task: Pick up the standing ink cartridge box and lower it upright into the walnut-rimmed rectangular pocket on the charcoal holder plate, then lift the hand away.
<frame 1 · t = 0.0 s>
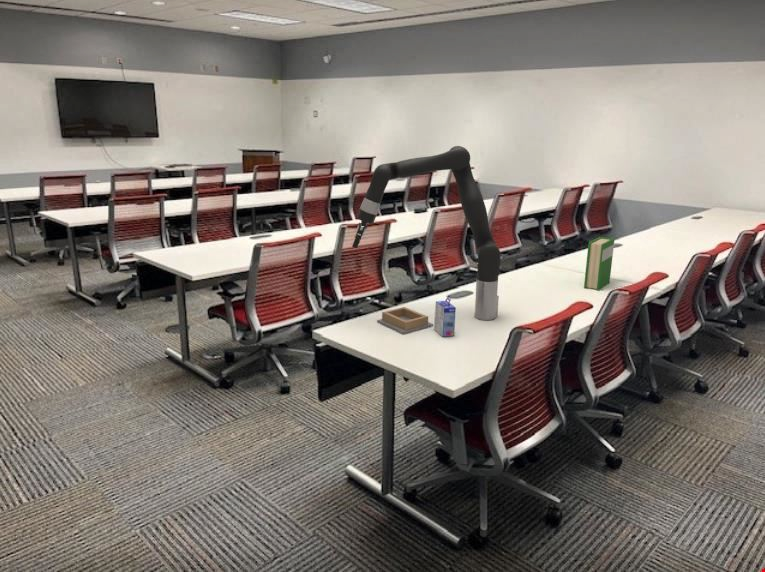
hand: (355, 245, 245), 31 cm above the table, tool tilted 20°, fingers open, 8 cm apart
ink cartridge box: (444, 332, 233), on the table
hardback book: (596, 286, 297), on the table
pocket holder: (404, 324, 242), on the table
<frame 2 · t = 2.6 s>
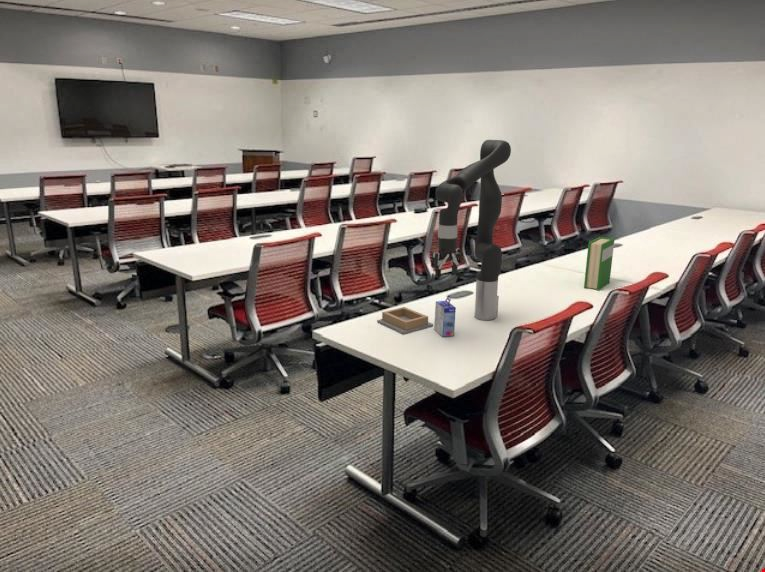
hand: (446, 276, 226), 24 cm above the table, tool pointing down, fingers open, 8 cm apart
nothing on the table moved.
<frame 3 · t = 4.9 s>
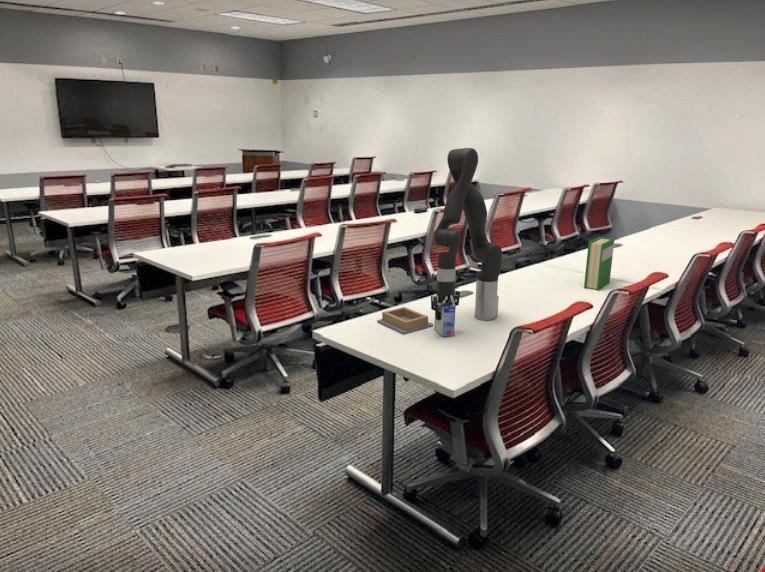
hand: (444, 317, 231), 6 cm above the table, tool pointing down, fingers closed on ink cartridge box, 6 cm apart
ink cartridge box: (444, 332, 233), on the table, touching gripper
everything else where it was.
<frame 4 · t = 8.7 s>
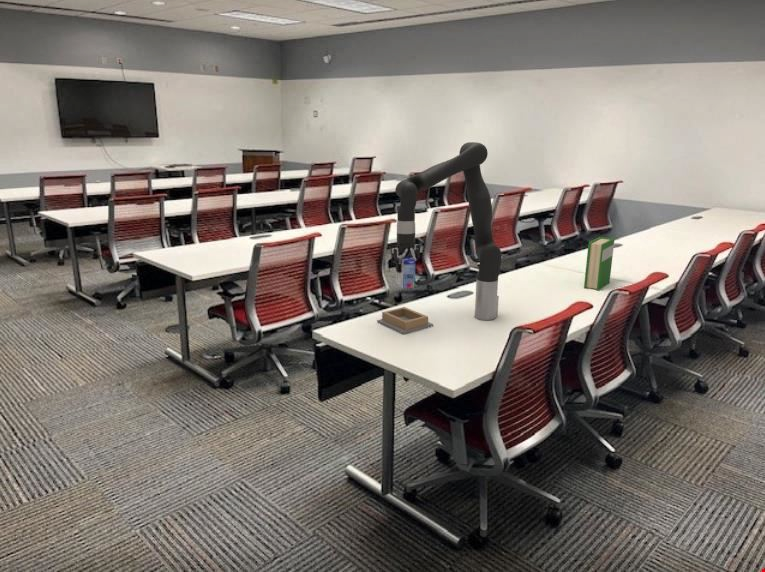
hand: (405, 270, 236), 23 cm above the table, tool pointing down, fingers closed on ink cartridge box, 6 cm apart
ink cartridge box: (405, 286, 237), point 17 cm above the table, touching gripper
everything else where it was.
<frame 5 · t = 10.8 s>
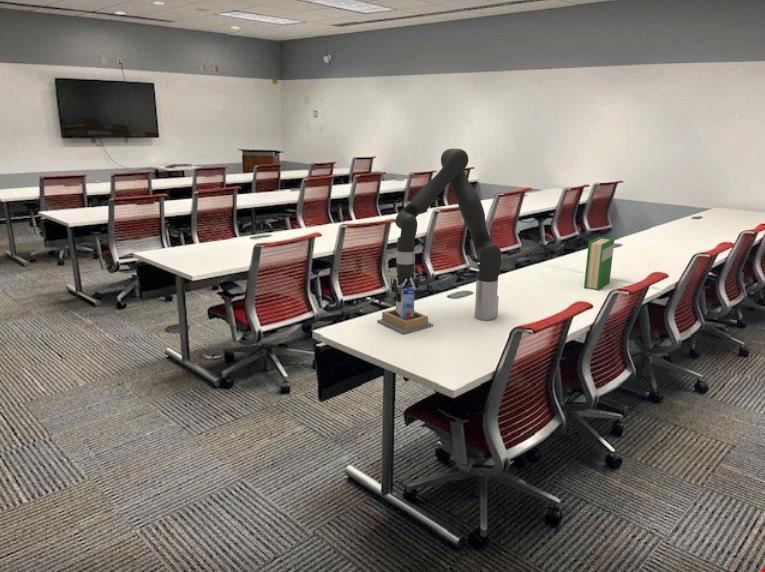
hand: (405, 299, 239), 11 cm above the table, tool pointing down, fingers closed on ink cartridge box, 6 cm apart
ink cartridge box: (405, 314, 241), point 4 cm above the table, touching gripper
everything else where it was.
when the fingers open (9 cm above the table, at t = 12.4 s): ink cartridge box drops 1 cm, resting on pocket holder.
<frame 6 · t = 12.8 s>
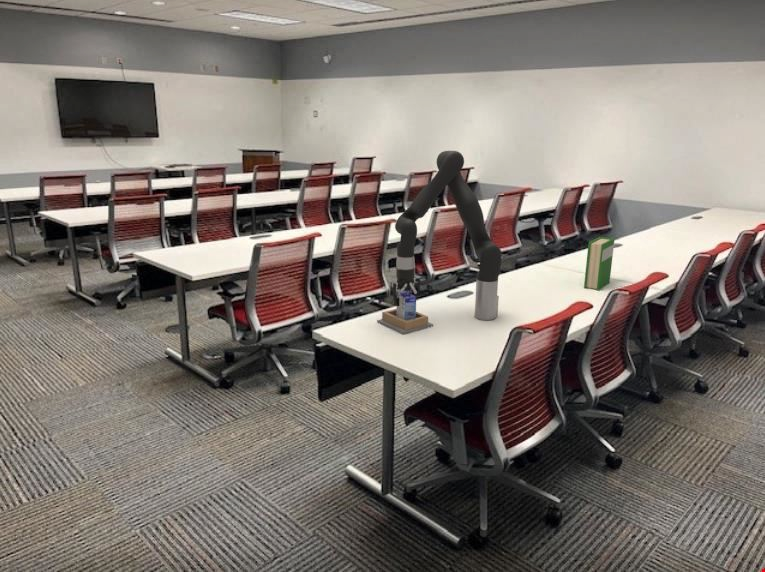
hand: (405, 303, 240), 9 cm above the table, tool pointing down, fingers open, 8 cm apart
ink cartridge box: (406, 322, 242), point 1 cm above the table, touching pocket holder
everything else where it was.
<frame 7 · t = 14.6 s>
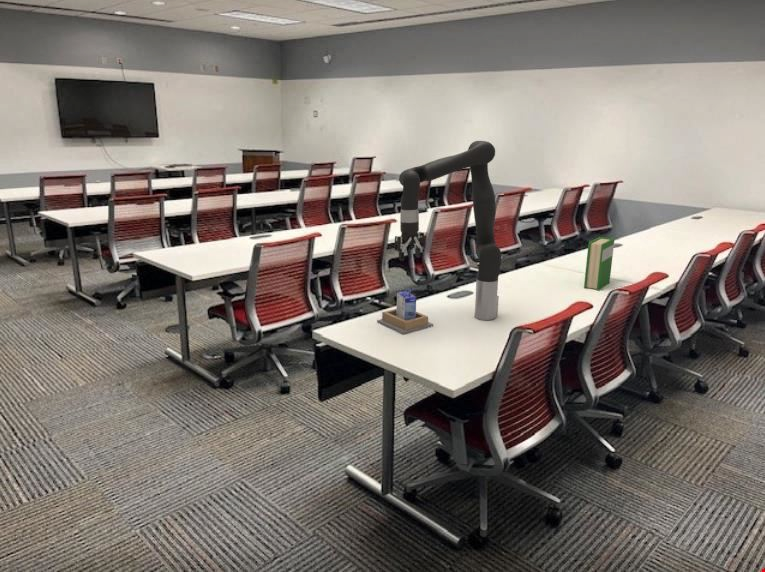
hand: (409, 258, 237), 28 cm above the table, tool pointing down, fingers open, 8 cm apart
nothing on the table moved.
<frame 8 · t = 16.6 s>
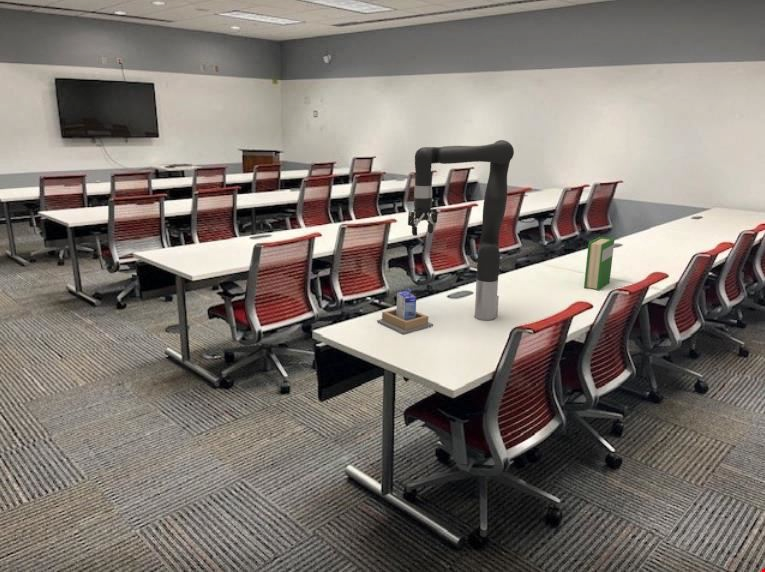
hand: (422, 234, 245), 36 cm above the table, tool pointing down, fingers open, 8 cm apart
nothing on the table moved.
at the end: ink cartridge box 0.5 cm off-centre on the pocket holder, point 0.8 cm above the pocket holder's base; ink cartridge box tilted 0°; the gripper is holding nothing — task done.
